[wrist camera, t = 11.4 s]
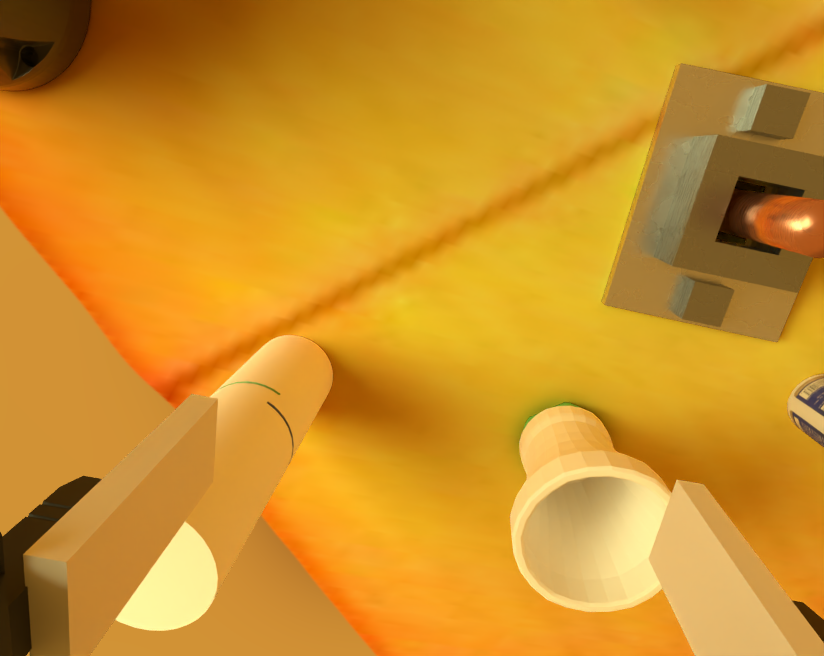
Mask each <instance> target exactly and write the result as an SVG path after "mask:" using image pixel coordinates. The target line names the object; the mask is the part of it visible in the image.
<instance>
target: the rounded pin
mask: <svg viewBox="0 0 824 656" xmlns="http://www.w3.org/2000/svg"><path fill="white" fill-rule="evenodd" d="M719 231H722V232H725V233H729V234H732V235H736V236H739V237H743V238H746V239H750V240H753V241H757V242H760V243H764V244H767V245H771V246H774V247H778V248H781V249H785V250H788V251H792V252H795V253H799V254H802V255H806V256H809V257H813V258H824V200H820V199H812V198H803V197H795V196H786V195H778V194H770V193H761V192H753V191H744V190H736V189H734V191H733V194H732V196H731V199H730V202H729V204H728V207H727V210H726V213H725V215H724V218H723V221H722V224H721V226H720V229H719Z"/></svg>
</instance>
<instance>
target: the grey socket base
mask: <svg viewBox="0 0 824 656" xmlns="http://www.w3.org/2000/svg"><path fill="white" fill-rule="evenodd" d="M737 181H742V182H747V183H751V184H756V185H761V186H765V187H766V189H765V191H764V193H770V194H778V195H786V196H795V197H803V198H812V199H820V200H824V93H821V92H816V91H811V90H806V89H801V88H797V87H792V86H787V85H782V84H777V83H773V82H768V81H763V80H758V79H753V78H749V77H744V76H739V75H734V74H730V73H725V72H720V71H715V70H710V69H706V68H701V67H696V66H691V65H686V64H682V63H681V64H678V65H676V66H675V70H674V73H673V76H672V79H671V82H670V86H669V89H668V92H667V95H666V98H665V101H664V105H663V108H662V111H661V114H660V117H659V120H658V124H657V127H656V130H655V133H654V136H653V139H652V143H651V146H650V149H649V152H648V155H647V159H646V162H645V165H644V168H643V171H642V174H641V178H640V181H639V184H638V187H637V190H636V193H635V197H634V200H633V203H632V206H631V209H630V213H629V216H628V219H627V222H626V225H625V228H624V232H623V235H622V238H621V241H620V244H619V247H618V251H617V254H616V257H615V260H614V263H613V267H612V270H611V273H610V276H609V279H608V282H607V286H606V289H605V292H604V295H603V298H602V301H601V302H602V303H603V304H604V305H607V306H612V307H617V308H621V309H626V310H630V311H635V312H640V313H644V314H649V315H654V316H658V317H663V318H667V319H672V320H677V321H681V322H686V323H690V324H695V325H700V326H704V327H709V328H714V329H718V330H723V331H727V332H732V333H737V334H741V335H746V336H750V337H755V338H760V339H764V340H769V341H773V342H778V339H779V337H780V335H781V332H782V330H783V328H784V325H785V323H786V321H787V318H788V316H789V313H790V311H791V309H792V306H793V304H794V302H795V299H796V297H797V294H798V292H799V290H800V287H801V285H802V283H803V280H804V278H805V275H806V273H807V271H808V268H809V266H810V264H811V261H812V259H813V257H809V256H806V255H802V254H799V253H795V252H792V251H788V250H785V249H781V248H778V247H774V246H771V245H767V244H764V243H760V242H757V241H753V240H750V239H746V241H745V244H744V245H742V244H737V243H733V242H728V241H723V240H719V239H716V237H717V235H718V232H719V229H720V226H721V224H722V221H723V218H724V215H725V213H726V210H727V207H728V204H729V202H730V199H731V196H732V194H733V191H734V188H735V185H736V183H737Z"/></svg>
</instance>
